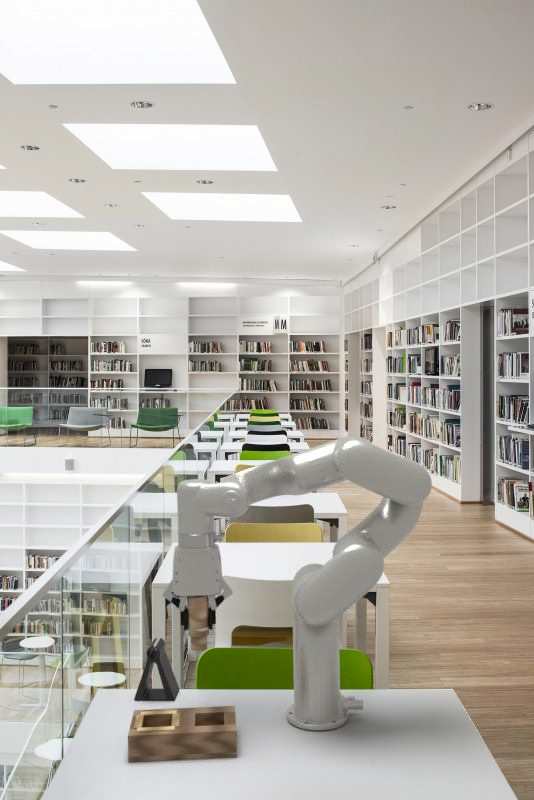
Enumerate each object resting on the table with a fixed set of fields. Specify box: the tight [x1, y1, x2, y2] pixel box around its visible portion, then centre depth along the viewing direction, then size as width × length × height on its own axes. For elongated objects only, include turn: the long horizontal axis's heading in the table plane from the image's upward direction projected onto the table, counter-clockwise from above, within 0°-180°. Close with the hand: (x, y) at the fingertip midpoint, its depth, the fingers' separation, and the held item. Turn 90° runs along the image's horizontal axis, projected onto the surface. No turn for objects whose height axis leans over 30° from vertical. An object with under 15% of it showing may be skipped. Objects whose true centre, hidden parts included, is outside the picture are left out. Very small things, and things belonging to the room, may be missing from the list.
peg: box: [186, 596, 210, 652], centre depth 162 cm, size 4×4×11 cm
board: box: [127, 705, 238, 763], centre depth 151 cm, size 20×11×5 cm, turn 94°
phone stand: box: [133, 637, 180, 702], centre depth 175 cm, size 9×6×12 cm, turn 86°
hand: (198, 627), depth 162 cm, fingers closed on peg, 4 cm apart
